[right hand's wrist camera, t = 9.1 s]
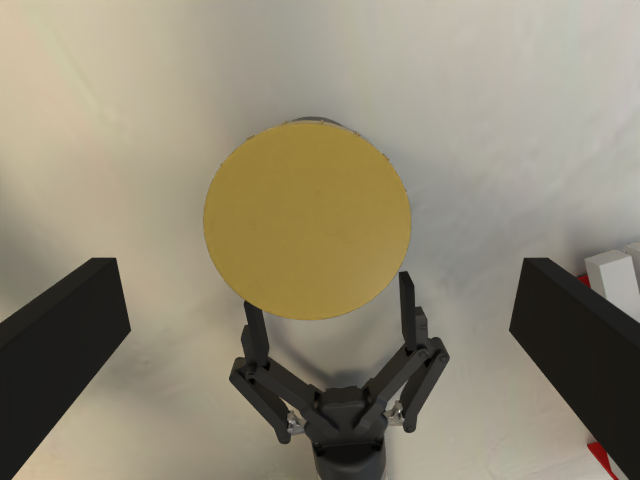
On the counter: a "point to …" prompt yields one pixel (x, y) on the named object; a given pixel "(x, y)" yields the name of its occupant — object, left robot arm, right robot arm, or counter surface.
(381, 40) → the counter surface
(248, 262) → the lid
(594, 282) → the toy
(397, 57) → the counter surface
